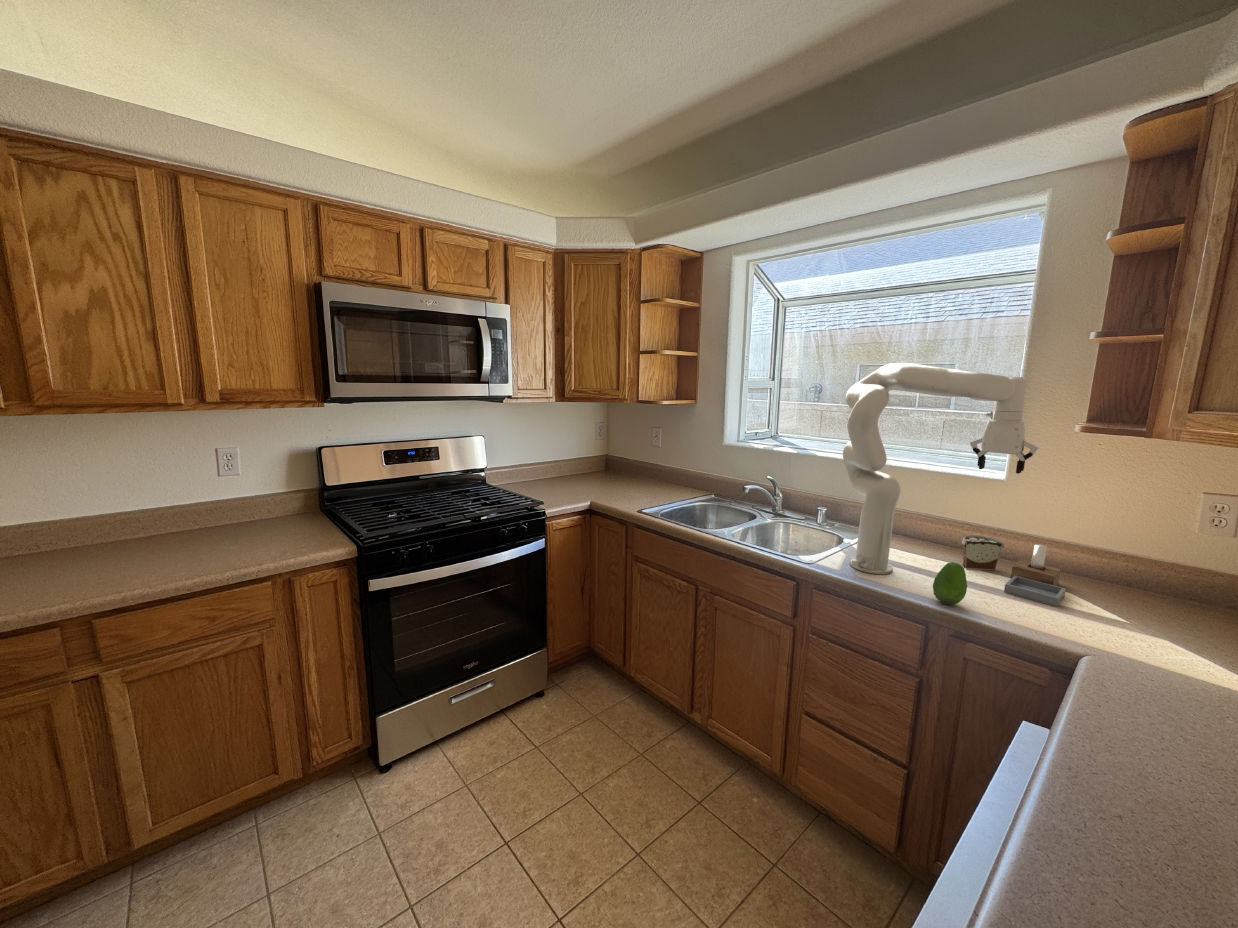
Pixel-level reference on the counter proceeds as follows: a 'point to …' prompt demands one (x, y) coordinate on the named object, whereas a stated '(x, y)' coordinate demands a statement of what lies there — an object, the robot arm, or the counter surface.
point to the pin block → (1036, 572)
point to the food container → (981, 552)
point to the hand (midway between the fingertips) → (999, 470)
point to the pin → (1038, 556)
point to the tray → (1035, 590)
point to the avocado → (950, 584)
